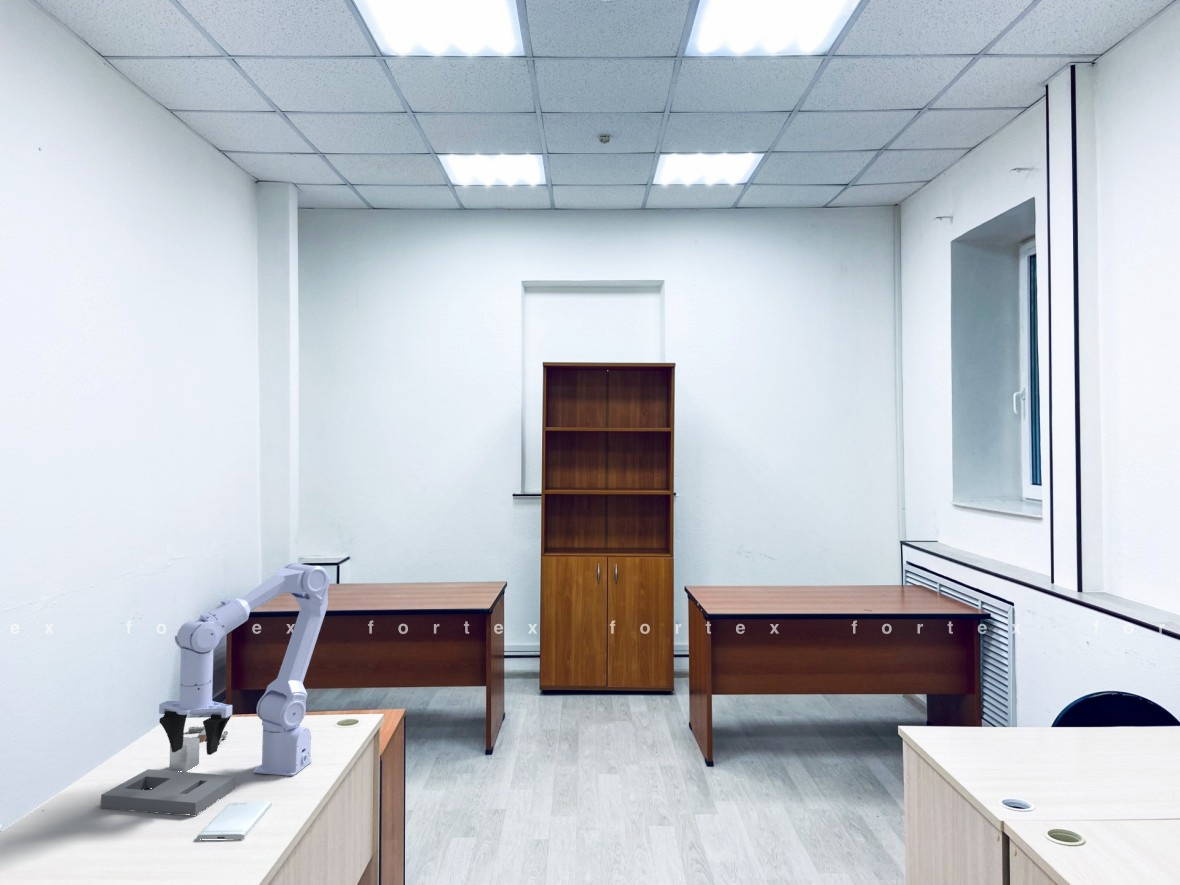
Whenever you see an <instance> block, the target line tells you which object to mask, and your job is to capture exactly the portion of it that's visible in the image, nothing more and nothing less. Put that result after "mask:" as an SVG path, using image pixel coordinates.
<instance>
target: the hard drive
mask: <svg viewBox="0 0 1180 885" xmlns="http://www.w3.org/2000/svg"><path fill="white" fill-rule="evenodd" d="M272 804H273V803H272V802H271V801H242V802H241V801H240V802H239V801H238V802H237V801H235V802H229V803H228V804H227V805H226V806H224V807H223V809H222V810H221V811H220V812H219V813H218V814H217V815H216V816H215V817H214V818H212V819H211V821H210V822H209V823H208V824H207V825H206V826H205V827H204V828H203V829H202V830H201V831H200V833H198V835H197V837H196V841H197V840H200V839H201V840H202V839H244V838H245V837H246V836H247V835H248V833H249V832H250V831H251V830H252V829H253V828H254V829H255V827H256V826H257V825H258V824H259V823H260V821H261V820H262V819H263V818H264V817H265V816H266V814H267V813H268V812H269V811H268V810H269V809H270V810H271V808H272ZM267 811H268V812H267ZM266 812H267V813H266ZM265 813H266V814H265ZM264 815H265V816H264ZM263 816H264V817H263ZM262 817H263V818H262ZM261 818H262V819H261ZM260 819H261V820H260ZM258 822H259V823H258ZM257 823H258V824H257ZM256 824H257V825H256ZM254 829H253V830H254ZM253 830H252V831H253ZM252 831H251V832H252ZM251 832H250V833H251ZM250 833H249V834H250ZM248 836H249V835H248ZM248 836H247V837H248ZM247 837H246V838H247ZM246 838H245V839H246ZM245 839H244V840H245Z"/></svg>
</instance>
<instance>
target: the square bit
mask: <svg viewBox="0 0 1180 885" xmlns="http://www.w3.org/2000/svg"><path fill="white" fill-rule="evenodd" d="M200 743H201V742H200V738H192V737H188V736H184V737H183V746H182V749H180V750H178V751H176V752H172V749H171V746H170V745H169V765H168V766H169V770H168V771H179V772H180V771H182V772H187V771H188V770H190V769H192V768H193V767H195V766H197V765H198V764H199V765H200Z"/></svg>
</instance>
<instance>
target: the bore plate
mask: <svg viewBox="0 0 1180 885" xmlns="http://www.w3.org/2000/svg"><path fill="white" fill-rule="evenodd" d="M236 783H237V776H236V775H228V774H226V775H225V774H215V773H213V774H212V773H200V772H190V771H189V772H178V771H169V770H161V769H152V768H147V769H146V770H144V771H141V772H140V773H139V774H136V775H135V776H133V777H132V778H130V779H128V780H126V781H124V782H122V783H120V784H118V785H117V786H115V787H113V788H111V789H109V790H107V791H106V792H104V793H102V794H101V795H100V809H105V808H111V809H110V810H117V809H119V811H128V810H135V811H134V812H140V811H147V812H146V813H151V812H158V813H157V814H162V813H170V814H169V815H174V814H190V815H197V814H198V813H199V812H201V811H202V812H204V811H205V810H207V809H208V808H209V806H210V805H211V804H213V803H214V804H215V803H217V802H218V801H219V800H218V799H220V798H221V799H223V798H224V797H226V796H227V795H228V794H230V793H231V792H233V791H234V790H235V789H234V788H236V786H237V784H236ZM145 788H152V789H145ZM143 789H144V790H143ZM233 789H234V790H233ZM232 790H233V791H232ZM230 791H231V792H230ZM229 792H230V793H229ZM227 793H228V794H227ZM226 794H227V795H226ZM223 796H224V797H223ZM222 797H223V798H222ZM221 799H220V800H221ZM217 800H218V801H217ZM216 801H217V802H216ZM214 804H213V805H214ZM211 806H212V805H211ZM211 806H210V807H211ZM207 807H208V808H207ZM206 808H207V809H206ZM204 809H205V810H204ZM203 810H204V811H203ZM202 812H201V813H202ZM198 815H199V814H198ZM198 815H197V816H198Z"/></svg>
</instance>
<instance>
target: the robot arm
mask: <svg viewBox="0 0 1180 885" xmlns="http://www.w3.org/2000/svg"><path fill="white" fill-rule="evenodd" d="M331 580H332V579H331V577H330V576H329V574H328V573H327V570H326V569H325V568H324V567H323V566H321V565H309V564H303V563H302V564H300V563H297V562H290V563H289V564H286V565H285V566H284V567H281V568H279V569H277V571H276V572H275V574H273V575H272V576H271V577H269V578H268V579H266V580H265V581H263V582H262V583H261V584H259V585H258V586H257V587H255V588H253V590H251V591H250V592H247V593H246V594H245V595H244V596H242V597H241V598H237V597H231V598H224V599H223V600H221V601H220V603H221V604H219V605H217V607H215V608H213V609H211V610H210V611H208V612H203V613H202V614H200V616H199V618H198V619H192V620H188V621H186V622H185V623H183V624H182V625H181V626H180V627H179V628H178V631H177V635H175V636H174V641H175V642H174V643H175V644H176V645H177V646H178V647H179V649H180V650H179V651H180V668H179V669H180V671H179V700H165V701H163V702H161V703H159V706H158V711H159V712H158V714H161V715H163V716H162V717H160V718H159V724H160V725H161V726H162V728H163V729H164V731H165V733H166V736H167V739H168V741H169V747H170V746H171V749H172V752H176V751H178V750H180V749H182V746H183V737H185V736H184V735H185V733H184V732H185V725H186V721H187V718H188V715H193V716H194V715H195V716H206V717H207V716H208V717H209V718H206V719H204V720H203V721H202V724H203V727H204V728H205V732H206V739H207V740H206V745H205V746H206V750H205V751H206V755H207V756H208V755H209V756H211V755H213V754H215V753H217V751H218V748H219V745H220V744H219V741H220V738H221V735H222V734H224V730H225V729H226V726H227V723H228V722H229V720H230V719H231V716H232V715H233V704H226V703H222V702H217V701H214V700H213V685H214V684H213V683H214V682H213V680H214V679H213V677H214V676H213V675H214V650H215V649H216V647H217V646H218V644H220V640H221V639H222V638H223V637H224V636H226V635H227V634H229V633H230V632H233V630H235V629H236V628H238V627H239V626H241V625H242V624H244V623H245V622H247V621H248V620H249V616H250V613H251V612H252V611H254V610H256V609H257V608H259V607H261V606H263V605H264V604H266V603H268V602H269V601H271V600H273V599H274V598H277V597H279V596H280V595H282V594H290V595H291V596H292V597H293V598H294V599H295V601H296V603H297V604H298V606H299V607H300V609H299V613H298V615H297V618H296V621H295V624H294V627H293V630H292V633H291V636H290V638H289V643H288V645H287V648H286V651H285V655H284V657H283V660H282V664H281V666H280V669H279V672H278V675H277V678H276V679H274V680H273V681H272V682H270V683H269V684H268V685H267V687H266V690H265V692H264V694H263V695H262V696H261V697H260V699H259V700H258V702H257V704H256V716H257V718H258V719H260V720H261V726H262V743H261V744H262V746H261V747H262V749H261V752H262V753H261V764H260V765H259V766H258V767H256V768H254V769H253V770H252V773H253V774H265V775H277V776H289V777H291V776H292V777H293V776H295V775H296V774H298V773H299V772H300V771H302V770H303V769H304V768H306V767H307V766H308V765H309V764H310V763H312V762H313V759H311V749H312V748H311V746H312V744H311V743H312V735H311V730H310V728H308V727H304V726H302V725H301V723H302V722H303V720H304V719H305V715H306V711H307V707H306V701H307V698H308V692H307V690H306V688H305V686H304V684H303V683H304V680H305V677H306V675H307V671H308V668H309V665H310V662H311V659H312V655H313V652H314V649H315V647H316V646H315V645H316V643H317V640H318V637H319V633H320V631H321V627H322V624H323V622H324V618H325V615H326V612H327V609H328V606H329V598H328V597H329V596H328V595H329V594H328V593H329V592H328V590H329V587H330V584H331V582H332V581H331Z"/></svg>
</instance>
